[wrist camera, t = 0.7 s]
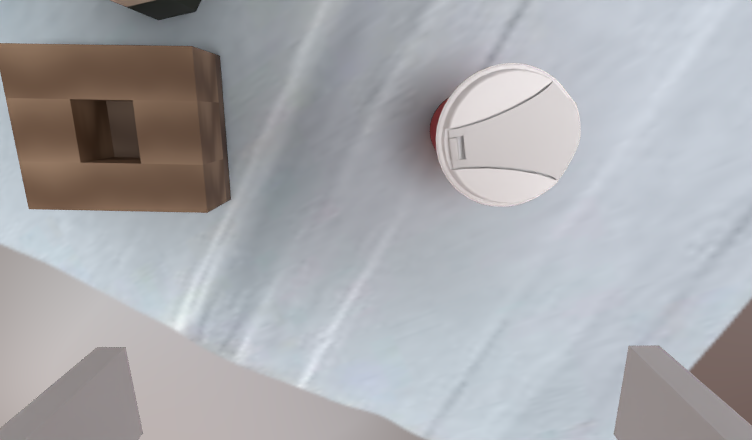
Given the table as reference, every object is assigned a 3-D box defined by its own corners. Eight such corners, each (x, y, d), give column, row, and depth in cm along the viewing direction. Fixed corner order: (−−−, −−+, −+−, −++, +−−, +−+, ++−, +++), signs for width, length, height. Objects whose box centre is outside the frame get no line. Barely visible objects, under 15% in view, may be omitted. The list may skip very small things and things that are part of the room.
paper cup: (423, 180, 36) (448, 222, 22) (411, 90, 34) (429, 74, 20) (513, 166, 35) (594, 199, 22) (505, 73, 33) (589, 46, 20)
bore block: (50, 53, 33) (-6, 43, 29) (219, 55, 33) (192, 46, 28) (75, 196, 37) (28, 208, 32) (230, 199, 36) (207, 212, 32)
